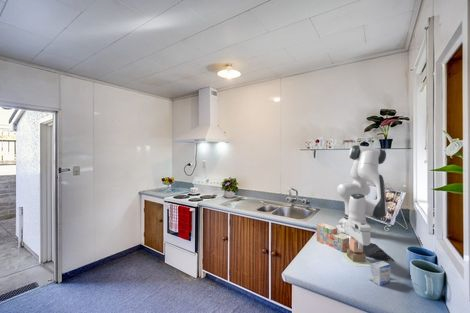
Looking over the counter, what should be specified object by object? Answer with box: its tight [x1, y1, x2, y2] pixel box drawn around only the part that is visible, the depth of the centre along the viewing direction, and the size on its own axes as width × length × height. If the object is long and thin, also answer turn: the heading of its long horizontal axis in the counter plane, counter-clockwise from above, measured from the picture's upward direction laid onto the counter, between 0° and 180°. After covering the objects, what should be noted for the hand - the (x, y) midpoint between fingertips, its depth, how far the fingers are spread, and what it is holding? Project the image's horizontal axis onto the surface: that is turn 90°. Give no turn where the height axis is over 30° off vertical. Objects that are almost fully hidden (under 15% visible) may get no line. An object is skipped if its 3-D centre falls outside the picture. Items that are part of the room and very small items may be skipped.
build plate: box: [338, 251, 373, 267], centre depth 126 cm, size 16×12×1 cm
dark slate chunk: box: [363, 242, 395, 262], centre depth 135 cm, size 15×22×5 cm
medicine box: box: [370, 260, 391, 286], centre depth 106 cm, size 8×4×9 cm, turn 114°
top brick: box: [349, 237, 363, 252], centre depth 126 cm, size 5×5×6 cm
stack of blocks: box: [316, 222, 350, 252], centre depth 145 cm, size 21×6×12 cm, turn 24°
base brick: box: [346, 248, 367, 262], centre depth 126 cm, size 7×7×4 cm
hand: (356, 246), depth 126 cm, fingers closed on top brick, 5 cm apart
